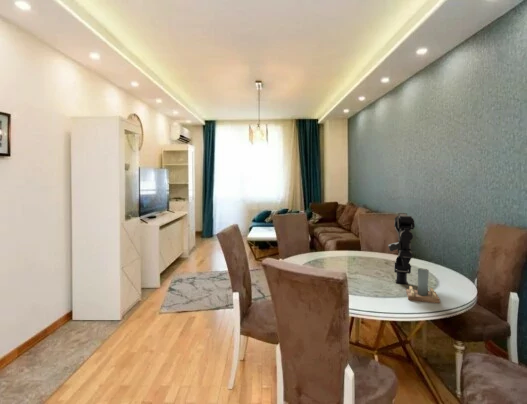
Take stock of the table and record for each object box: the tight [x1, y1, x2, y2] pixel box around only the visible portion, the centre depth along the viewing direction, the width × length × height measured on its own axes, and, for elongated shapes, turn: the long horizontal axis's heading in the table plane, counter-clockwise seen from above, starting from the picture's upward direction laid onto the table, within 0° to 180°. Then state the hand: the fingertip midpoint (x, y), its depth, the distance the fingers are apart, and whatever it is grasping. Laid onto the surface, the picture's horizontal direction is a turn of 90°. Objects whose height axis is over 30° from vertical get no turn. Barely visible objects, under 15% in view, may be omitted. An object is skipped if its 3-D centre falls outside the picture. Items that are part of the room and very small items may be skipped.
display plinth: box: [405, 285, 440, 304], centre depth 167 cm, size 12×14×4 cm
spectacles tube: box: [417, 267, 430, 296], centre depth 166 cm, size 5×5×13 cm
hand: (404, 266), depth 180 cm, fingers open, 9 cm apart
